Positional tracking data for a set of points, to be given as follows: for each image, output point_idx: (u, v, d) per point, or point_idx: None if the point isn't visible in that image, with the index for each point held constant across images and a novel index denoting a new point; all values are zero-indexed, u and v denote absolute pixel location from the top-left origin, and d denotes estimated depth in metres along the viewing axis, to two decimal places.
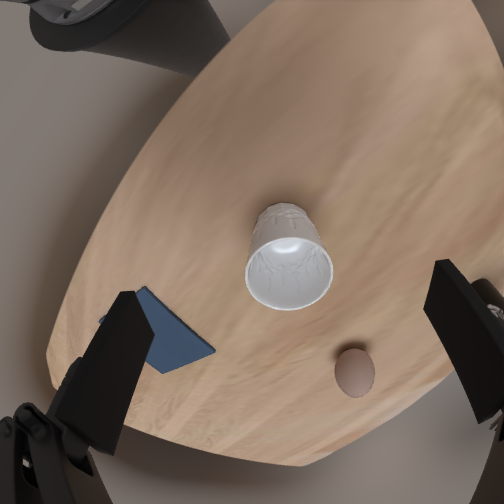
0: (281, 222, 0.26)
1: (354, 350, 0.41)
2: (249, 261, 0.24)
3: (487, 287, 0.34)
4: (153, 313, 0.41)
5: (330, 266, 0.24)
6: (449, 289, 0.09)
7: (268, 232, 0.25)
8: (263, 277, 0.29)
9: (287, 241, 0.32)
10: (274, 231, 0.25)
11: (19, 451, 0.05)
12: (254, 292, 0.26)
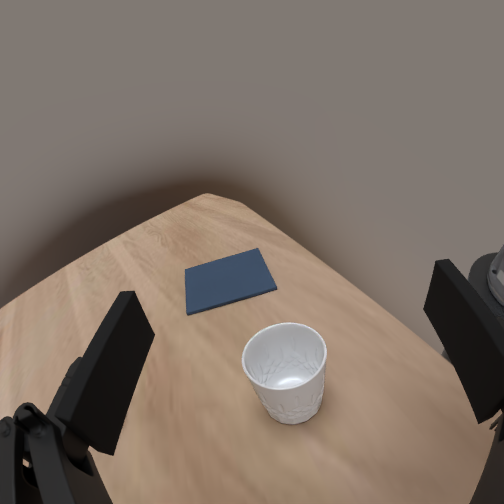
0: None
1: None
2: (310, 328, 0.27)
3: None
4: (250, 285, 0.49)
5: (282, 387, 0.22)
6: (449, 289, 0.09)
7: None
8: (272, 351, 0.29)
9: None
10: None
11: (19, 451, 0.05)
12: (275, 328, 0.28)
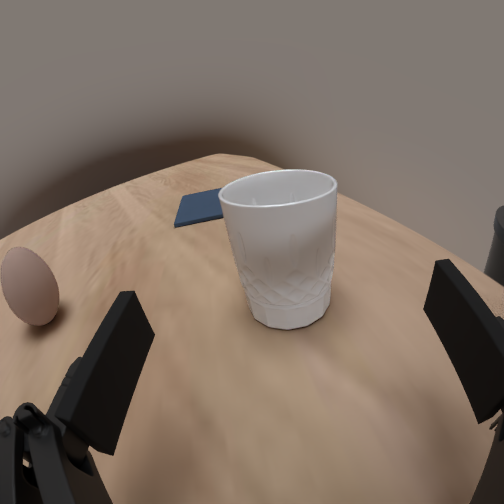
0: None
1: (49, 312, 0.23)
2: (315, 171, 0.20)
3: None
4: None
5: (270, 206, 0.15)
6: (449, 289, 0.09)
7: None
8: None
9: None
10: None
11: (19, 451, 0.05)
12: (269, 175, 0.22)
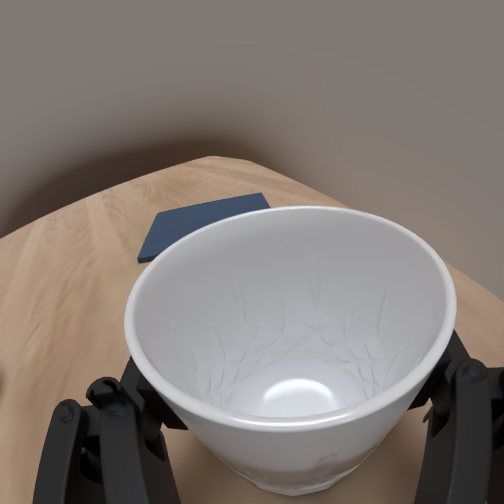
0: None
1: None
2: (373, 215, 0.08)
3: None
4: None
5: (262, 419, 0.03)
6: None
7: None
8: (256, 301, 0.11)
9: None
10: None
11: (79, 440, 0.06)
12: (268, 218, 0.10)
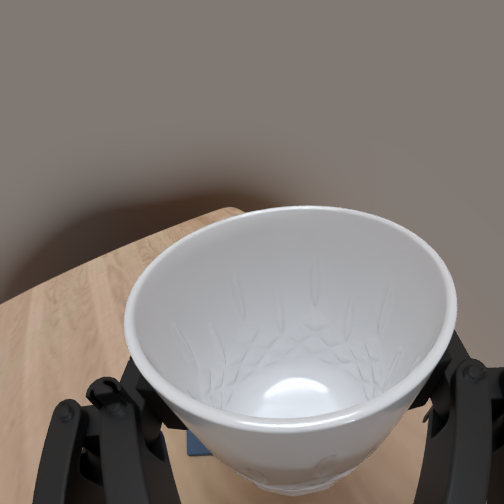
0: None
1: None
2: (374, 215, 0.08)
3: None
4: None
5: (263, 420, 0.03)
6: None
7: None
8: (256, 301, 0.11)
9: None
10: None
11: (79, 440, 0.06)
12: (268, 218, 0.10)
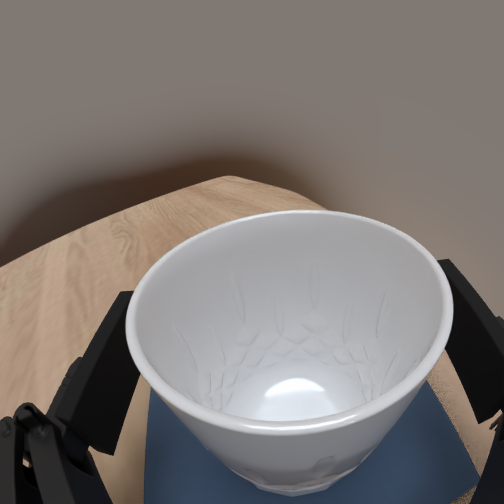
0: None
1: None
2: (372, 220, 0.08)
3: None
4: (398, 487, 0.08)
5: (261, 422, 0.04)
6: None
7: None
8: (256, 304, 0.11)
9: None
10: None
11: (19, 451, 0.05)
12: (267, 222, 0.10)
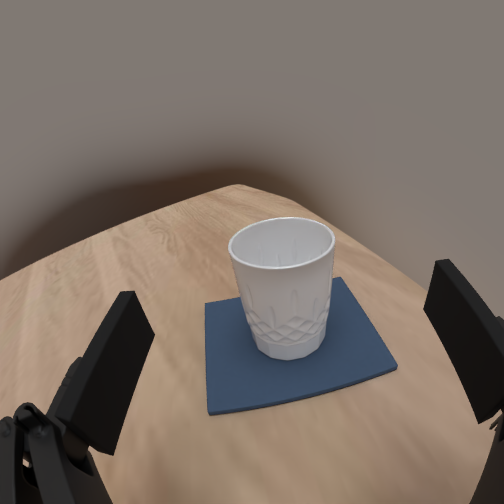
0: None
1: None
2: (315, 221, 0.23)
3: None
4: (344, 359, 0.22)
5: (275, 267, 0.18)
6: (449, 289, 0.09)
7: None
8: (268, 259, 0.25)
9: None
10: None
11: (19, 451, 0.05)
12: (274, 222, 0.24)
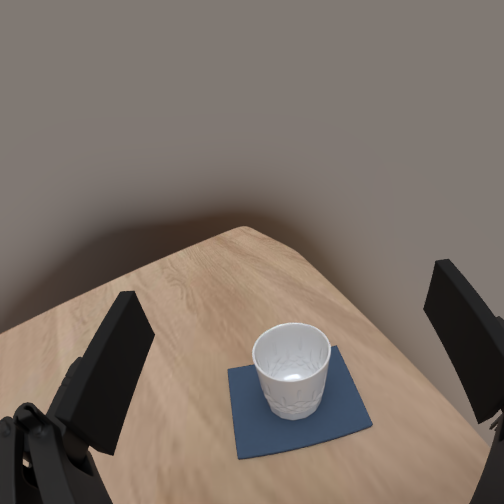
0: None
1: None
2: (317, 329, 0.29)
3: None
4: (334, 419, 0.28)
5: (287, 380, 0.24)
6: (449, 289, 0.09)
7: None
8: (280, 349, 0.31)
9: None
10: None
11: (19, 451, 0.05)
12: (285, 326, 0.30)
